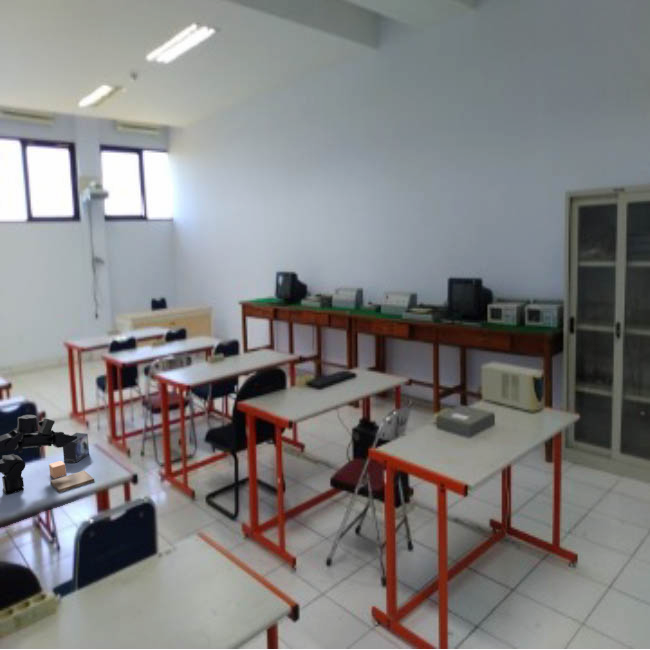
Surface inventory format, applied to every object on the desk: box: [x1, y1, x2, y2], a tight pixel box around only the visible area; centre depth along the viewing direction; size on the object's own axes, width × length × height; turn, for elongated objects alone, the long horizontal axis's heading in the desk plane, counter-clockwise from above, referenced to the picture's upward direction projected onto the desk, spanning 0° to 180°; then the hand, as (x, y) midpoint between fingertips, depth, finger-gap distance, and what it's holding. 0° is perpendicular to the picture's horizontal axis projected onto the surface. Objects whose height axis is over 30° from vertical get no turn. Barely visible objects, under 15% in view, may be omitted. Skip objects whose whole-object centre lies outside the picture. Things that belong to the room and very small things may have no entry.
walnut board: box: [49, 469, 95, 493], centre depth 234 cm, size 14×11×1 cm
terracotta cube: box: [48, 460, 67, 479], centre depth 241 cm, size 5×5×5 cm
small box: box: [62, 432, 90, 464], centre depth 257 cm, size 11×6×10 cm, turn 168°
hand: (73, 436), depth 242 cm, fingers open, 9 cm apart
